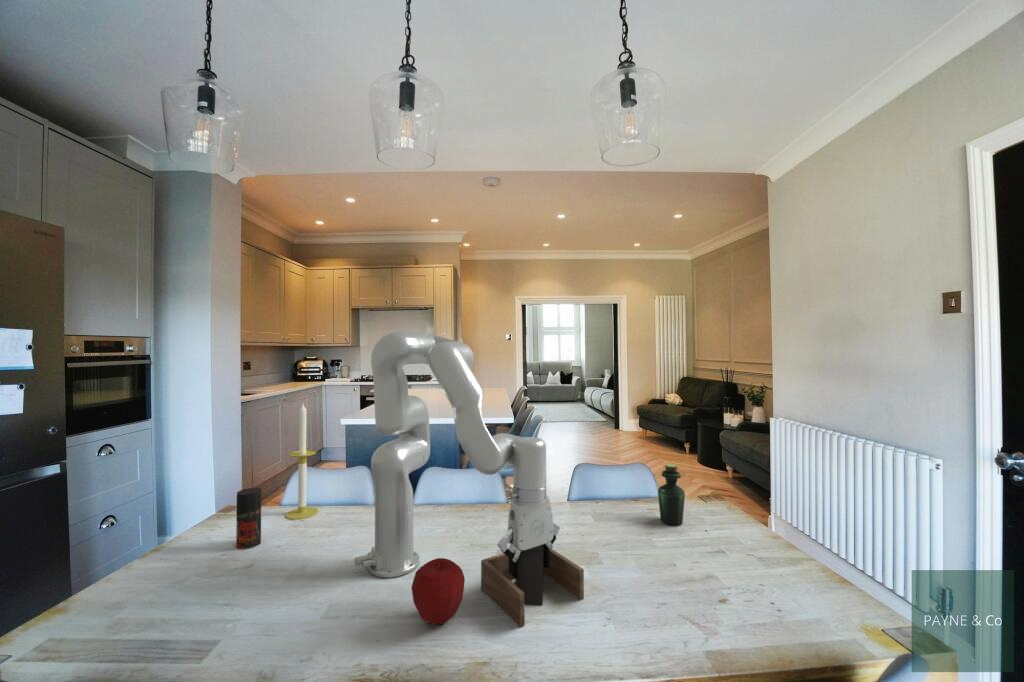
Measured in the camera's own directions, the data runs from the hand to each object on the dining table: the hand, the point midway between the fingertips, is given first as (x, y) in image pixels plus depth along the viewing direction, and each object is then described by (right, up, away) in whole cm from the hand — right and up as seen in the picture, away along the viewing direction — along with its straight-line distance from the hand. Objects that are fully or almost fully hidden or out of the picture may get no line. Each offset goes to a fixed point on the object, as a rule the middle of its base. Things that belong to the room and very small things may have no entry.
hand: (530, 570), depth 94 cm
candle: (-75, -6, +45) cm, 88 cm away
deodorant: (-79, -6, +23) cm, 82 cm away
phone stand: (0, -5, 0) cm, 5 cm away
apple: (-19, -5, -9) cm, 22 cm away
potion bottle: (+47, -6, +38) cm, 61 cm away
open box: (0, -5, -1) cm, 5 cm away
